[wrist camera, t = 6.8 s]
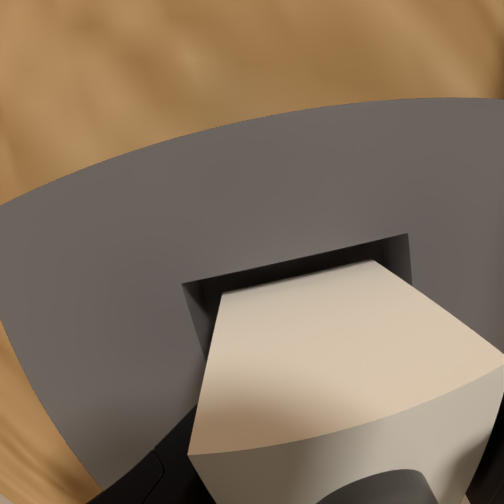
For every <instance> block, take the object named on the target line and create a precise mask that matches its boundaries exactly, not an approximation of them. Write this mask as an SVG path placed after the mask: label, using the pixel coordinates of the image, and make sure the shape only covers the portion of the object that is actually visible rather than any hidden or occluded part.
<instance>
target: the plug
mask: <svg viewBox="0 0 504 504" xmlns="http://www.w3.org/2000/svg"><path fill="white" fill-rule="evenodd" d="M503 393H504V354H503V353H502V352H500V351H499V350H498V349H497V348H495V347H494V346H493V345H491V344H490V343H489V342H488V341H486V340H485V339H484V338H482V337H481V336H480V335H478V334H477V333H476V332H474V331H473V330H472V329H470V328H469V327H468V326H466V325H465V324H464V323H462V322H461V321H460V320H458V319H457V318H456V317H454V316H453V315H452V314H450V313H449V312H447V311H446V310H445V309H443V308H442V307H441V306H439V305H438V304H436V303H435V302H434V301H432V300H431V299H429V298H428V297H427V296H425V295H424V294H422V293H421V292H419V291H418V290H417V289H415V288H414V287H412V286H411V285H409V284H408V283H407V282H405V281H404V280H402V279H401V278H399V277H398V276H396V275H395V274H393V273H392V272H390V271H389V270H387V269H386V268H384V267H383V266H382V265H380V264H379V263H377V262H376V261H374V260H373V259H368V260H364V261H360V262H355V263H351V264H347V265H343V266H339V267H335V268H330V269H326V270H322V271H318V272H313V273H309V274H305V275H300V276H296V277H291V278H287V279H282V280H278V281H273V282H269V283H264V284H260V285H255V286H250V287H246V288H241V289H236V290H232V291H227V292H223V293H222V297H221V302H220V306H219V311H218V315H217V319H216V324H215V328H214V333H213V337H212V342H211V346H210V351H209V355H208V360H207V364H206V369H205V374H204V378H203V383H202V388H201V392H200V397H199V402H198V406H197V411H196V416H195V421H194V425H193V430H192V435H191V440H190V445H189V450H188V457H189V459H190V461H191V462H192V464H193V466H194V468H195V469H196V471H197V473H198V475H199V476H200V478H201V480H202V481H203V483H204V485H205V486H206V488H207V489H208V491H209V493H210V494H211V496H212V497H213V499H214V501H215V502H216V504H460V503H461V501H462V499H463V497H464V495H465V493H466V491H467V489H468V487H469V485H470V483H471V480H472V478H473V476H474V474H475V472H476V469H477V467H478V465H479V462H480V460H481V458H482V455H483V453H484V450H485V448H486V445H487V442H488V440H489V437H490V434H491V432H492V429H493V426H494V423H495V420H496V417H497V414H498V410H499V407H500V404H501V400H502V397H503Z"/></svg>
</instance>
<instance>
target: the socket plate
mask: <svg viewBox="0 0 504 504" xmlns="http://www.w3.org/2000/svg"><path fill="white" fill-rule="evenodd" d="M368 259H373V260H374V261H376V262H377V263H379V264H380V265H382V266H383V267H384V268H386V269H387V270H389V271H390V272H392V273H393V274H395V275H396V276H398V277H399V278H401V279H402V280H404V281H405V282H407V283H408V284H409V285H411V286H412V287H414V288H415V289H417V290H418V291H419V292H421V293H422V294H424V295H425V296H427V297H428V298H429V299H431V300H432V301H434V302H435V303H436V304H438V305H439V306H441V307H442V308H443V309H445V310H446V311H447V312H449V313H450V314H452V315H453V316H454V317H456V318H457V319H458V320H460V321H461V322H462V323H464V324H465V325H466V326H468V327H469V328H470V329H472V330H473V331H474V332H476V333H477V334H478V335H480V336H481V337H482V338H484V339H485V340H486V341H488V342H489V343H490V344H491V345H493V346H494V347H495V348H497V349H498V350H499V351H500V352H502V353H504V99H488V98H417V99H398V100H383V101H371V102H361V103H351V104H343V105H335V106H327V107H320V108H313V109H306V110H300V111H294V112H288V113H282V114H277V115H271V116H266V117H261V118H256V119H251V120H246V121H242V122H237V123H233V124H228V125H224V126H220V127H216V128H212V129H208V130H204V131H200V132H196V133H192V134H188V135H185V136H181V137H178V138H174V139H171V140H167V141H164V142H160V143H157V144H154V145H151V146H147V147H144V148H141V149H138V150H135V151H132V152H129V153H126V154H123V155H120V156H117V157H114V158H111V159H108V160H106V161H103V162H100V163H97V164H95V165H92V166H89V167H87V168H84V169H82V170H79V171H77V172H74V173H72V174H69V175H67V176H64V177H62V178H59V179H57V180H55V181H52V182H50V183H48V184H45V185H43V186H41V187H39V188H36V189H34V190H32V191H30V192H28V193H25V194H23V195H21V196H19V197H17V198H15V199H13V200H11V201H9V202H7V203H5V204H3V205H1V206H0V319H1V321H2V324H3V326H4V329H5V331H6V334H7V336H8V338H9V341H10V343H11V345H12V347H13V350H14V352H15V354H16V356H17V358H18V360H19V362H20V365H21V367H22V369H23V371H24V373H25V375H26V376H27V378H28V380H29V382H30V384H31V386H32V388H33V390H34V391H35V393H36V395H37V397H38V399H39V400H40V402H41V404H42V405H43V407H44V409H45V410H46V412H47V414H48V415H49V417H50V419H51V420H52V422H53V423H54V425H55V427H56V428H57V430H58V431H59V433H60V434H61V436H62V437H63V439H64V440H65V441H66V443H67V444H68V446H69V447H70V449H71V450H72V451H73V453H74V454H75V456H76V457H77V458H78V460H79V461H80V462H81V464H82V465H83V466H84V467H85V469H86V470H87V471H88V473H89V474H90V475H91V476H92V478H93V479H94V480H95V481H96V482H97V484H98V485H99V486H100V487H101V488H102V490H103V491H104V490H105V489H107V488H108V487H110V486H111V485H112V484H114V483H115V482H116V481H117V480H119V479H120V478H121V477H122V476H124V475H125V474H126V473H127V472H128V471H130V470H131V469H132V468H133V467H134V466H135V465H136V464H137V463H138V462H139V461H141V460H142V459H143V458H144V457H145V456H146V455H147V454H148V453H149V452H150V451H151V450H154V447H155V446H156V445H157V444H158V443H159V442H160V441H161V440H162V439H163V438H164V437H165V436H166V435H167V434H168V433H169V432H170V431H171V430H172V429H173V428H174V427H175V426H176V425H177V423H178V422H179V421H180V420H181V419H182V418H183V417H184V416H185V415H186V414H187V413H188V412H189V411H190V410H191V409H192V408H193V407H194V406H195V405H196V404H197V402H198V401H199V397H200V392H201V388H202V383H203V378H204V374H205V369H206V364H207V360H208V355H209V351H210V346H211V342H212V337H213V333H214V328H215V324H216V319H217V315H218V311H219V306H220V302H221V297H222V293H223V292H227V291H232V290H236V289H241V288H246V287H250V286H255V285H260V284H264V283H269V282H273V281H278V280H282V279H287V278H291V277H296V276H300V275H305V274H309V273H313V272H318V271H322V270H326V269H330V268H335V267H339V266H343V265H347V264H351V263H355V262H360V261H364V260H368Z"/></svg>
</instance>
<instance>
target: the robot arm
mask: <svg viewBox="0 0 504 504" xmlns="http://www.w3.org/2000/svg"><path fill="white" fill-rule="evenodd" d="M503 354H504V353H503ZM198 402H199V401H198ZM198 402H197V404H196V405H195V406H194V407H193V408H192V409H191V410H190V411H189V412H188V413H187V414H186V415H185V416H184V417H183V418H182V419H181V420H180V421H179V422H178V423H177V425H176V426H175V427H174V428H173V429H172V430H171V431H170V432H169V433H168V434H167V435H166V436H165V437H164V438H163V439H162V440H161V441H160V442H159V443H158V444H157V445H156V446H155V447H154V450H151V451H150V452H149V453H148V454H147V455H146V456H145V457H144V458H143V459H142V460H141V461H139V462H138V463H137V464H136V465H135V466H134V467H133V468H132V469H131V470H130V471H128V472H127V473H126V474H125V475H124V476H122V477H121V478H120V479H119V480H117V481H116V482H115V483H114V484H112V485H111V486H110V487H108V488H107V489H105V490H104V491H103V492H101V493H100V494H99V495H97V496H96V497H95V498H93V499H92V500H90V501H89V502H88V503H86V504H216V502H215V501H214V499H213V497H212V496H211V494H210V493H209V491H208V489H207V488H206V486H205V485H204V483H203V481H202V480H201V478H200V476H199V475H198V473H197V471H196V469H195V468H194V466H193V464H192V462H191V461H190V459H189V457H188V450H189V445H190V440H191V435H192V430H193V425H194V421H195V416H196V411H197V406H198ZM465 494H466V496H467V498H468V500H469V502H470V504H504V393H503V397H502V400H501V404H500V407H499V410H498V414H497V417H496V420H495V423H494V426H493V429H492V432H491V434H490V437H489V440H488V442H487V445H486V448H485V450H484V453H483V455H482V458H481V460H480V462H479V465H478V467H477V469H476V472H475V474H474V476H473V478H472V480H471V483H470V485H469V487H468V489H467V491H466V493H465Z"/></svg>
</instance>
